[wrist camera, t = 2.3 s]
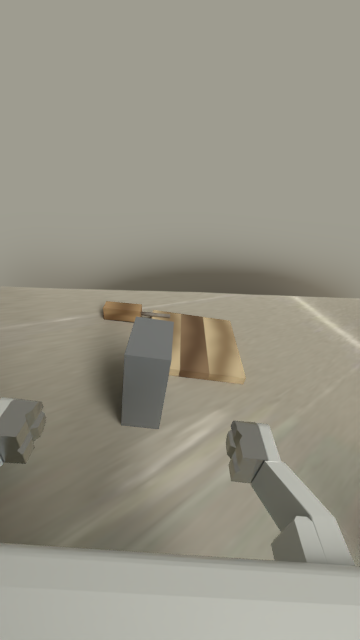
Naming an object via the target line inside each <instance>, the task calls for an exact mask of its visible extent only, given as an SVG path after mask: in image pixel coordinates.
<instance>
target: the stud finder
mask: <svg viewBox="0 0 360 640" xmlns="http://www.w3.org/2000/svg"><path fill="white" fill-rule="evenodd" d="M173 327H174V322H172V321H165V320H158V319H150V318H143V317H136V318H135V322H134V325H133V328H132V332H131V335H130V338H129V341H128V345H127V348H126V351H125V356H124V377H123V398H122V420H121V425H125V426H134V427H143V428H153V429H159V425H160V419H161V414H162V408H163V403H164V398H165V392H166V387H167V382H168V376H169V371H170V365H171V359H172V343H173Z"/></svg>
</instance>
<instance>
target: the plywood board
mask: <svg viewBox="0 0 360 640" xmlns="http://www.w3.org/2000/svg"><path fill="white" fill-rule="evenodd" d="M153 313H160V314H170V318H166V317H155V316H152V319H158V320H165V321H172V322H174V327H173V343H172V359H171V365H170V371H169V375H172V376H180V377H188V378H197V379H205V380H213V381H221V382H229V383H237V384H244V381H245V379H246V377H245V373H244V370H243V366H242V362H241V359H240V355H239V352H238V348H237V344H236V341H235V337H234V334H233V330H232V326H231V323H230V321H227V320H220V319H213V318H206V317H199V316H192V315H185V314H178V313H171V312H164V311H156V310H153Z"/></svg>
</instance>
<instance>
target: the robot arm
mask: <svg viewBox="0 0 360 640" xmlns="http://www.w3.org/2000/svg"><path fill="white" fill-rule="evenodd" d="M42 408H43V404H42V402H40V401H31V400H22V399H15V398H5V397H2V398H1V399H0V466H1V465H3V462H4V463H21V464H26V463H27V461H28V459H29V457H30V455H31V453H32V451H33V449H34V441H35V440H36V439H38V438H39V437H40V436H41V434H42V432H43V430H44V426H45V423H46V416H45V413H43V412H42V411H41V410H42ZM231 429H232V430H230V431H229V432H228V434H227V438H226V450H227V455H228V456H229V457H230V459H231V460H230V462H229V471H230V477H231V481H234V482H242V483H251V486H252V487H253V489H254V491H255V492H256V494H257V495H258V497H259V498H260V500H261V501H262V503H263V505H264V506H265V508H266V509H267V511H268V512H269V514H270V515H271V517H272V519H273V520H274V522H275V523H276V525H277V526H278V528H279V529H280V531H281V533H280V534H279V535H278V536H277V537H276V538H275V539H274V540H273V542H272V544H271V546H272V551H273V555H274V560H275V561H274V560H258V559H243V558H227V557H212V556H197V555H181V554H166V553H150V552H135V551H120V550H104V549H89V548H73V547H58V546H43V545H27V544H12V543H0V640H360V566H355V564H354V561H353V559H352V557H351V554H350V552H349V550H348V547H347V545H346V543H345V540H344V538H343V535H342V533H341V531H340V528H339V526H338V524H337V521H336V519H335V517H334V516H333V515H332V514H331V513H330V512H329V511H328V510H327V509H326V507H325V506H324V505H323V504H322V503H321V502H320V501H319V500H318V499H317V497H316V496H315V495H314V494H313V493H312V492H311V491H310V490H309V489H308V488H307V486H306V485H305V484H304V483H303V482H302V481H301V480H300V479H299V478H298V476H297V475H296V474H295V473H294V472H293V471H292V470H291V469H290V468H289V467H288V465H287V464H286V463H285V462H281V459H280V456H279V453H278V450H277V447H276V444H275V441H274V438H273V435H272V432H271V429H270V426H269V425H268V424H262V423H255V422H243V421H233V422H232V424H231Z"/></svg>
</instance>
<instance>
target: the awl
mask: <svg viewBox="0 0 360 640" xmlns="http://www.w3.org/2000/svg"><path fill="white" fill-rule="evenodd" d="M103 314H104V319H107V320H118V321H130V322H135V318H136V317H141V316H142V315H144V316H155V317H166V318H170V314H160V313H150V312H142V305H140V304H129V303H119V302H108V301H106V303H105V305H104V307H103Z"/></svg>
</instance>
